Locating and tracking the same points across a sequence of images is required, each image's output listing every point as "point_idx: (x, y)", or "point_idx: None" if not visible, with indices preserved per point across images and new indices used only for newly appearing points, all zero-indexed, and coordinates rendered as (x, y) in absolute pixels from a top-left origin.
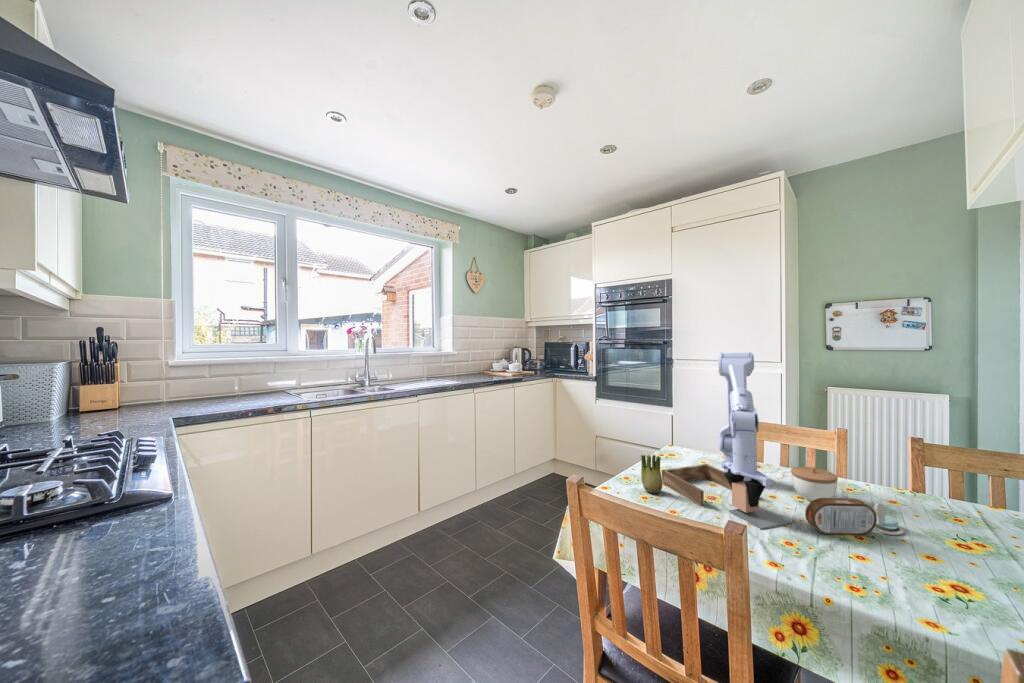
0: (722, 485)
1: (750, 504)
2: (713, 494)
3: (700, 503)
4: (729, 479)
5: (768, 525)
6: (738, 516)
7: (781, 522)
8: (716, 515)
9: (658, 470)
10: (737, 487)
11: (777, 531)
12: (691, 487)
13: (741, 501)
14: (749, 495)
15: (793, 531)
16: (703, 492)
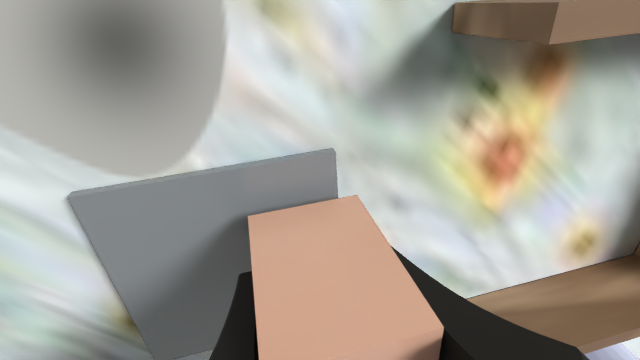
0: (553, 277)
1: (241, 281)
2: (522, 192)
3: (472, 2)
4: (492, 342)
5: (111, 255)
6: (257, 161)
7: (152, 326)
8: (307, 21)
9: None
10: (362, 327)
11: (56, 264)
12: None
13: (291, 249)
14: (239, 341)
15: (66, 330)
16: (532, 41)
